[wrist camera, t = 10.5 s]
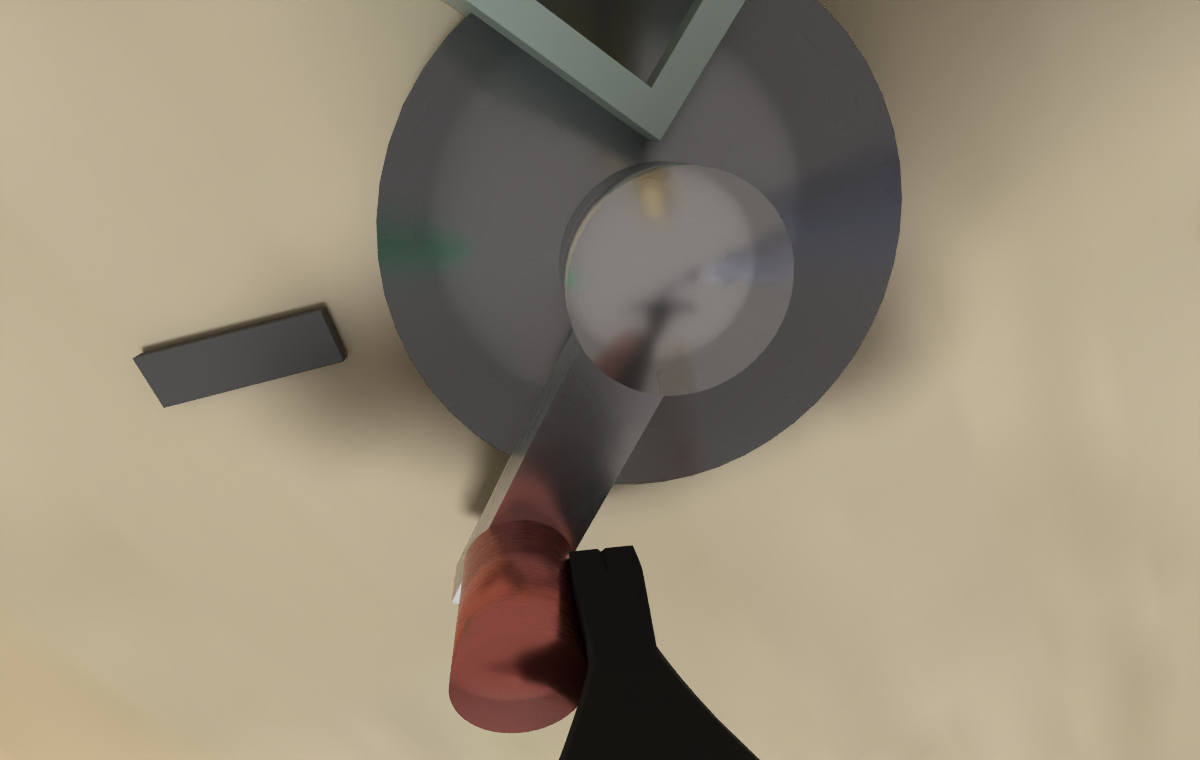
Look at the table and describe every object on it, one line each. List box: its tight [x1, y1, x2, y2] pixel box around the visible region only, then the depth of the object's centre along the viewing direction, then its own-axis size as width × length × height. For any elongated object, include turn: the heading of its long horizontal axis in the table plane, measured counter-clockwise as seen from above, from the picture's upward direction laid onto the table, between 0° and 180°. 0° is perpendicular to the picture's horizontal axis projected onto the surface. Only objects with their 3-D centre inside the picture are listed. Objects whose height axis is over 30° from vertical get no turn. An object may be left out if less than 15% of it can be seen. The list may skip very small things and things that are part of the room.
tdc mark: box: [133, 307, 347, 408], centre depth 12 cm, size 4×1×1 cm, turn 102°
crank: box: [449, 161, 794, 733], centre depth 10 cm, size 10×4×4 cm, turn 153°
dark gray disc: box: [376, 0, 902, 484], centre depth 12 cm, size 11×11×1 cm
